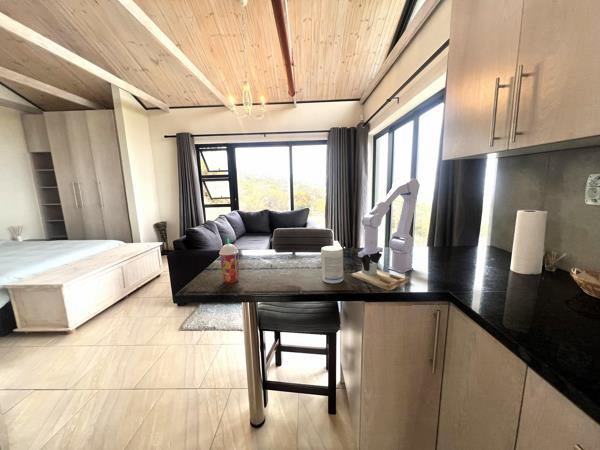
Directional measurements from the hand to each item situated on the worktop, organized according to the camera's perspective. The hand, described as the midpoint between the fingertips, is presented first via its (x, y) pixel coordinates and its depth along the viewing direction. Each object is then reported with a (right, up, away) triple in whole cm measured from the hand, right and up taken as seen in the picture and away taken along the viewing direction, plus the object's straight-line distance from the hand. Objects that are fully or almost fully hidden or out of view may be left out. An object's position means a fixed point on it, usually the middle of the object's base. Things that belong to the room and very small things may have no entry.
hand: (370, 269), depth 111 cm
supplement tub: (-18, -4, -3) cm, 19 cm away
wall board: (+3, -4, -4) cm, 6 cm away
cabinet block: (0, -2, +1) cm, 2 cm away
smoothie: (-64, -5, -1) cm, 64 cm away
